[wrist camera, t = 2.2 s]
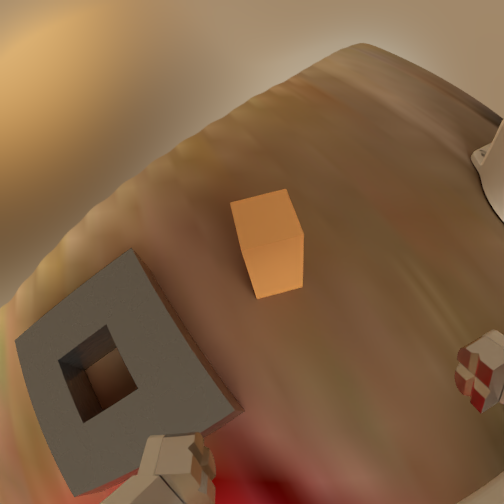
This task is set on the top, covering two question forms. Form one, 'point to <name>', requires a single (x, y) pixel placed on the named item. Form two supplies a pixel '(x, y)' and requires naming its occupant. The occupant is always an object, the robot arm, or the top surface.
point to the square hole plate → (139, 365)
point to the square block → (270, 242)
